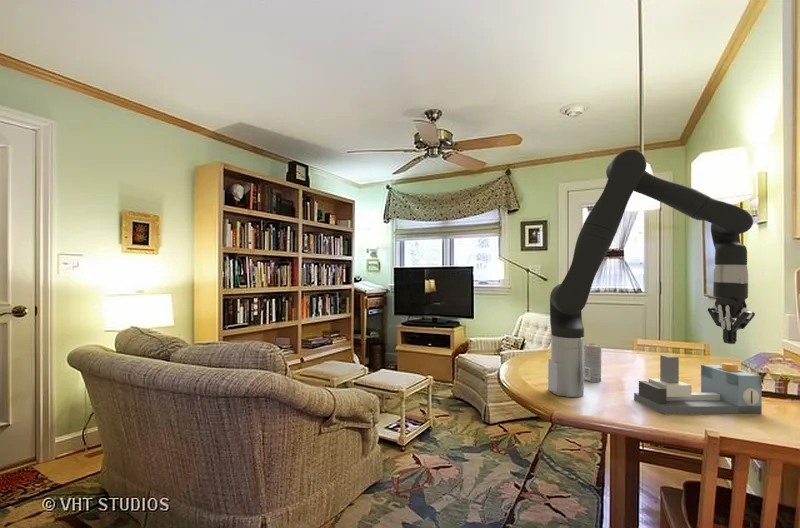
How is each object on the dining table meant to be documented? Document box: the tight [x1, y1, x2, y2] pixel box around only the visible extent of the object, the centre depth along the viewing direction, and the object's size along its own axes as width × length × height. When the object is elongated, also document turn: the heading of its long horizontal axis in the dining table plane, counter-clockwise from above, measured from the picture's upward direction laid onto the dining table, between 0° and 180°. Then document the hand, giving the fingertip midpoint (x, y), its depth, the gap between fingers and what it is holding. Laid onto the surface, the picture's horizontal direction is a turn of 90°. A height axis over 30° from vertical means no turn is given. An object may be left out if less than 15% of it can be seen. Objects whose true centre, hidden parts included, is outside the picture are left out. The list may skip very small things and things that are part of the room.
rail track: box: [633, 364, 763, 416], centre depth 111 cm, size 27×12×10 cm, turn 94°
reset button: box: [720, 362, 739, 372], centre depth 112 cm, size 4×4×4 cm
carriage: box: [648, 354, 693, 397], centre depth 111 cm, size 7×7×10 cm
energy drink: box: [584, 343, 602, 383], centre depth 137 cm, size 5×5×12 cm
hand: (729, 343), depth 112 cm, fingers closed
